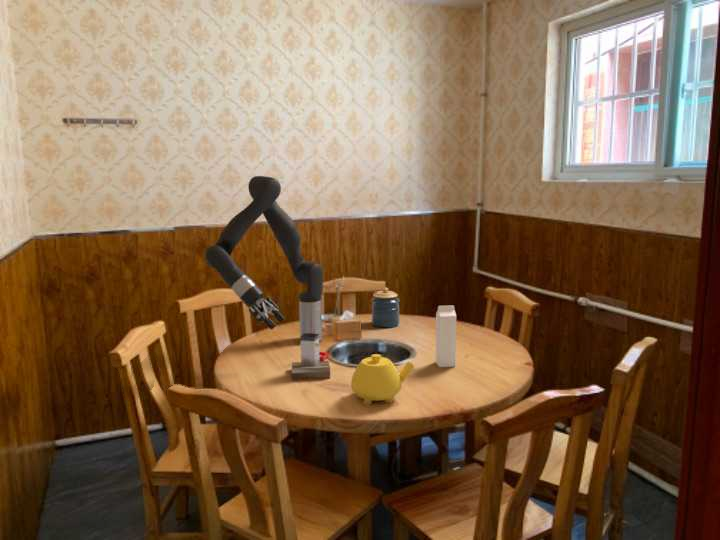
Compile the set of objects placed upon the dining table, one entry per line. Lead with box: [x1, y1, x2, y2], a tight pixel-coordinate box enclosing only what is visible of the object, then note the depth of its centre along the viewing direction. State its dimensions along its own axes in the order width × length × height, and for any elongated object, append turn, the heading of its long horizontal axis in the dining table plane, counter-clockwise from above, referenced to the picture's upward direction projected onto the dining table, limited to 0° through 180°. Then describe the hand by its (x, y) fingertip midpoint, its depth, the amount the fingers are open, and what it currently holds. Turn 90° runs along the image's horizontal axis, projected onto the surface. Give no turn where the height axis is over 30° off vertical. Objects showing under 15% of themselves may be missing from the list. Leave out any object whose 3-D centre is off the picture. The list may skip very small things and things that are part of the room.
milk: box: [435, 305, 457, 368], centre depth 198 cm, size 6×6×22 cm
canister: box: [371, 287, 401, 328], centre depth 254 cm, size 13×13×18 cm
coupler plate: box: [291, 360, 331, 381], centre depth 192 cm, size 11×13×4 cm
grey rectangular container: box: [299, 333, 320, 367], centre depth 192 cm, size 5×5×11 cm
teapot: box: [350, 353, 415, 405], centre depth 170 cm, size 20×16×14 cm
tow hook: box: [314, 327, 330, 361], centre depth 209 cm, size 8×13×9 cm
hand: (278, 324), depth 193 cm, fingers open, 8 cm apart
